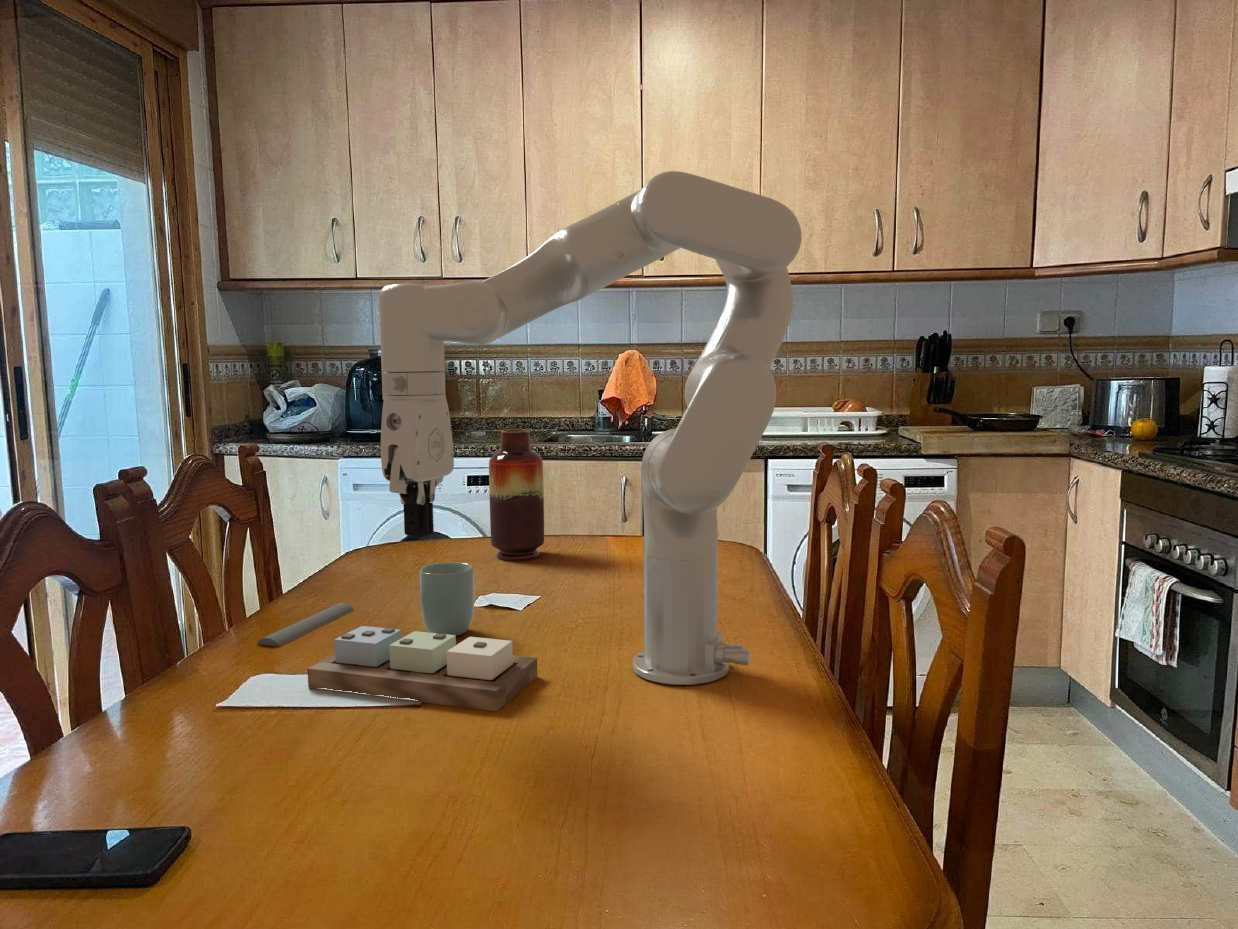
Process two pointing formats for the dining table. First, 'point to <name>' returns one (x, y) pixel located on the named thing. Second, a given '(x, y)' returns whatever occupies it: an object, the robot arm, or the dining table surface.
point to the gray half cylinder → (306, 625)
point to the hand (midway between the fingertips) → (419, 534)
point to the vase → (516, 498)
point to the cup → (447, 597)
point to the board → (425, 683)
